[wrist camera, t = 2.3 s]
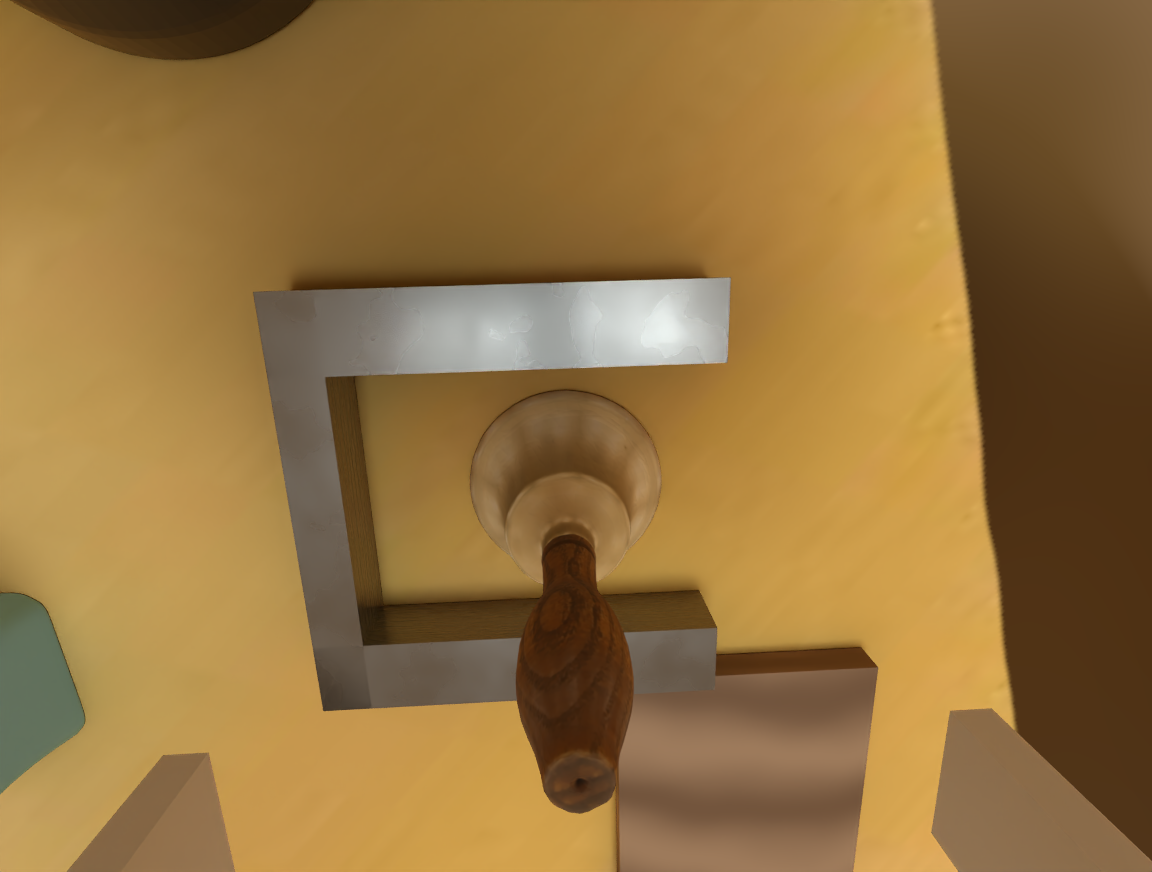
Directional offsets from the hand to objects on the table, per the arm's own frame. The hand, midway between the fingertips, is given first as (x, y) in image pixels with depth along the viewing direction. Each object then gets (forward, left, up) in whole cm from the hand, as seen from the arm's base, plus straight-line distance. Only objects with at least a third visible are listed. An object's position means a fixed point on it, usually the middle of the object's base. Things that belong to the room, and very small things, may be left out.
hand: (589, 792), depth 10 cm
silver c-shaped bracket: (0, -2, -16) cm, 16 cm away
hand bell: (0, 0, -16) cm, 16 cm away
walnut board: (+16, +8, -16) cm, 23 cm away
